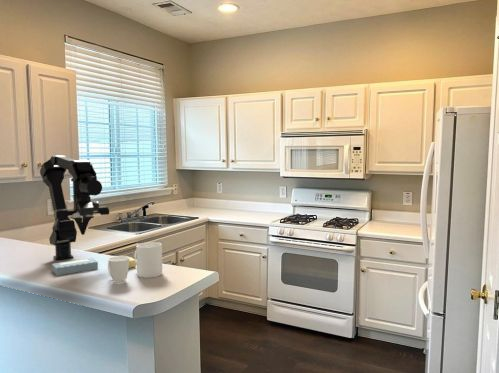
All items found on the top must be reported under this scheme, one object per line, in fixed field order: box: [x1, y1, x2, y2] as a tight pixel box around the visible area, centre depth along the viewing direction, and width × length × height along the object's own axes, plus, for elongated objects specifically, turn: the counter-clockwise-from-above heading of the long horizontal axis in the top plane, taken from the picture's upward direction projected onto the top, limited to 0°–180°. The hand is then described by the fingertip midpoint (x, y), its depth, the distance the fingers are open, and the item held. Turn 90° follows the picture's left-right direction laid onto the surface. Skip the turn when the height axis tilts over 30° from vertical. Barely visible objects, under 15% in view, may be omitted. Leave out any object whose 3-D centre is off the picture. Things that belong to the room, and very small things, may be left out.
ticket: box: [51, 257, 99, 276], centre depth 143 cm, size 8×14×3 cm, turn 126°
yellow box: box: [128, 256, 137, 269], centre depth 146 cm, size 6×8×3 cm
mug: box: [133, 241, 163, 279], centre depth 137 cm, size 9×12×11 cm
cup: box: [107, 255, 130, 285], centre depth 129 cm, size 7×10×8 cm
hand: (82, 234), depth 147 cm, fingers closed
